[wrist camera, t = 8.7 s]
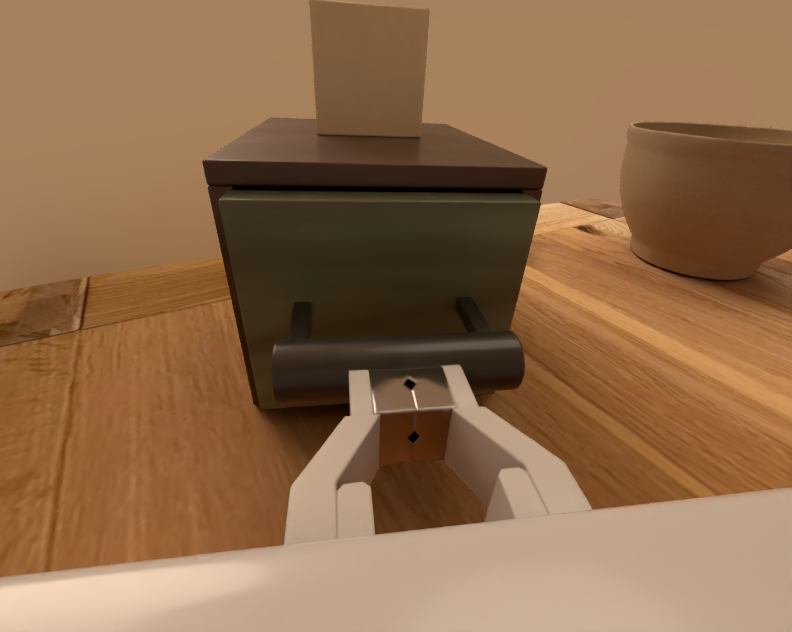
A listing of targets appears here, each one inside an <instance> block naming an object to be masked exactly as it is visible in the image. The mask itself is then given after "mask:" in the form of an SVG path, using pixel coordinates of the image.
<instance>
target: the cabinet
mask: <svg viewBox="0 0 792 632" xmlns="http://www.w3.org/2000/svg"><path fill="white" fill-rule="evenodd" d="M203 167H204V171H205V177H206V181H207V184H208V185H209V186H208V191H209V195H210V201H211V205H212V210H213V215H214V219H215V224H216V229H217V233H218V238H219V242H220V247H221V252H222V257H223V262H224V267H225V271H226V276H227V281H228V285H229V290H230V295H231V299H232V304H233V309H234V314H235V318H236V323H237V328H238V332H239V337H240V342H241V347H242V351H243V356H244V361H245V365H246V370H247V375H248V379H249V384H250V389H251V394H252V399H253V403H254V405H259V400H258V395H257V390H256V385H255V380H254V375H253V370H252V365H251V360H250V356H249V351H248V346H247V341H246V336H245V331H244V326H243V321H242V316H241V311H240V306H239V301H238V296H237V291H236V286H235V281H234V276H233V271H232V266H231V261H230V256H229V251H228V247H227V242H226V237H225V232H224V227H223V222H222V217H221V212H220V207H219V202H218V201H219V199H220V198H221V197H222V196H223V195H224V194H225V193H226V192H227V191H228V190H254V191H258V186H291V187H370V188H449V189H494V193H525V194H528V195H530V196H531V197H533V198H534V199H536V200H538V201H539V202H540V198H541V195H542V190H540V189H542V188H543V185H544V181H545V177H546V172H547V168H546V167H545V166H543V165H540V164H538V163H536V162H533V161H531V160H528V159H526V158H524V157H521V156H519V155H517V154H514V153H512V152H510V151H507V150H505V149H503V148H500V147H498V146H496V145H493V144H491V143H489V142H486V141H483V140H481V139H479V138H477V137H475V136H472V135H470V134H467V133H465V132H463V131H460V130H458V129H456V128H453V127H451V126H449V125H446V124H429V123H428V124H427V123H422V124H421V137H420V138H404V137H373V136H341V135H318V134H317V121H316V119H293V118H269V119H267V120H266V121H264V122H262V123H261V124H259V125H258V126H256V127H254V128H253V129H251V130H250V131H248V132H246V133H245V134H243V135H242V136H240V137H239V138H237V139H235V140H234V141H232V142H231V143H229V144H228V145H226V146H224V147H223V148H221V149H220V150H218V151H217V152H215V153H213V154H212V155H210V156H209V157H207V158H206V159H204V160H203Z"/></svg>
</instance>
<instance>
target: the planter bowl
mask: <svg viewBox="0 0 792 632" xmlns="http://www.w3.org/2000/svg"><path fill="white" fill-rule="evenodd" d="M620 195H621V202H622V207H623V212H624V215H625V218H626V221H627V224H628V226H629V229H630V231H631V233H632V238H631V243H630V247H631V250H632V251H633V252H634V253H635V254H636V255H637V256H638V257H640V258H642V259H643V260H645V261H647V262H649V263H651V264H654V265H656V266H657V267H659V268H664V269H667V270H670V271H674V272H677V273H681V274H685V275H690V276H695V277H700V278H707V279H718V280H736V279H742V278H746V277H749V276H750V275H752V274H753V273H754V271H755V270H756V269H757V268H758V267H759V266H760V265H761V264H762V263H763V262H765V261H768V260H770V259H772V258H774V257H776V256H779V255H781V254H783V253H785V252H787V251H789V250H790V249H792V129H784V128H771V127H758V126H742V125H728V124H709V123H692V122H664V121H662V122H661V121H644V122H634V123H631V124H630V125H629V129H628V133H627V146H626V149H625V153H624V157H623V161H622V167H621V175H620Z"/></svg>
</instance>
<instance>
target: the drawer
mask: <svg viewBox="0 0 792 632" xmlns="http://www.w3.org/2000/svg"><path fill="white" fill-rule="evenodd" d="M218 202H219V207H220V212H221V217H222V222H223V227H224V232H225V237H226V242H227V247H228V251H229V256H230V261H231V266H232V271H233V276H234V281H235V286H236V291H237V296H238V301H239V306H240V311H241V316H242V321H243V326H244V331H245V336H246V341H247V346H248V351H249V356H250V360H251V365H252V370H253V375H254V380H255V385H256V390H257V395H258V400H259V405H260V409H273V408H288V407H303V406H318V405H333V404H348V403H349V370H369V369H398V368H420V367H437V366H445V365H458V364H459V365H460V366H461V367H462V369H463V372H464V374H465V376H466V378H467V381H468V383H469V385H470V387H471V389H472V392H473V394H474V395H483V394H494V392H495V391H500V390H514V389H516V388H518V387H519V386H520V384H521V383H522V380H523V377H524V369H525V362H524V353H523V349H522V345H521V343H520V341H519V339H518V337H517V336H516V334H515V333H513V332H511V331H510V327H511V323H512V319H513V315H514V311H515V307H516V303H517V299H518V295H519V291H520V287H521V283H522V279H523V275H524V270H525V266H526V262H527V258H528V254H529V250H530V246H531V242H532V238H533V234H534V230H535V226H536V222H537V218H538V214H539V209H540V205H541V202H539V201H538V200H536V199H534V198H533V197H531V196H530V195H528V194H525V193H494V189H449V188H370V187H291V186H258V191H254V190H228V191H227V192H226V193H225V194H224V195H223V196H222V197H221V198H220V199H219V201H218Z"/></svg>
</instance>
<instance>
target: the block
mask: <svg viewBox="0 0 792 632" xmlns="http://www.w3.org/2000/svg"><path fill="white" fill-rule="evenodd" d="M309 3H310V20H311V37H312V53H313V71H314V87H315V105H316V121H317V134H318V135H341V136H373V137H404V138H420V137H421V124H422V109H423V96H424V82H425V68H426V54H427V40H428V26H429V12H430V11H429V9H428V8H415V7H403V6H390V5H378V4H365V3H351V2H341V1H328V0H310V1H309Z"/></svg>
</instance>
